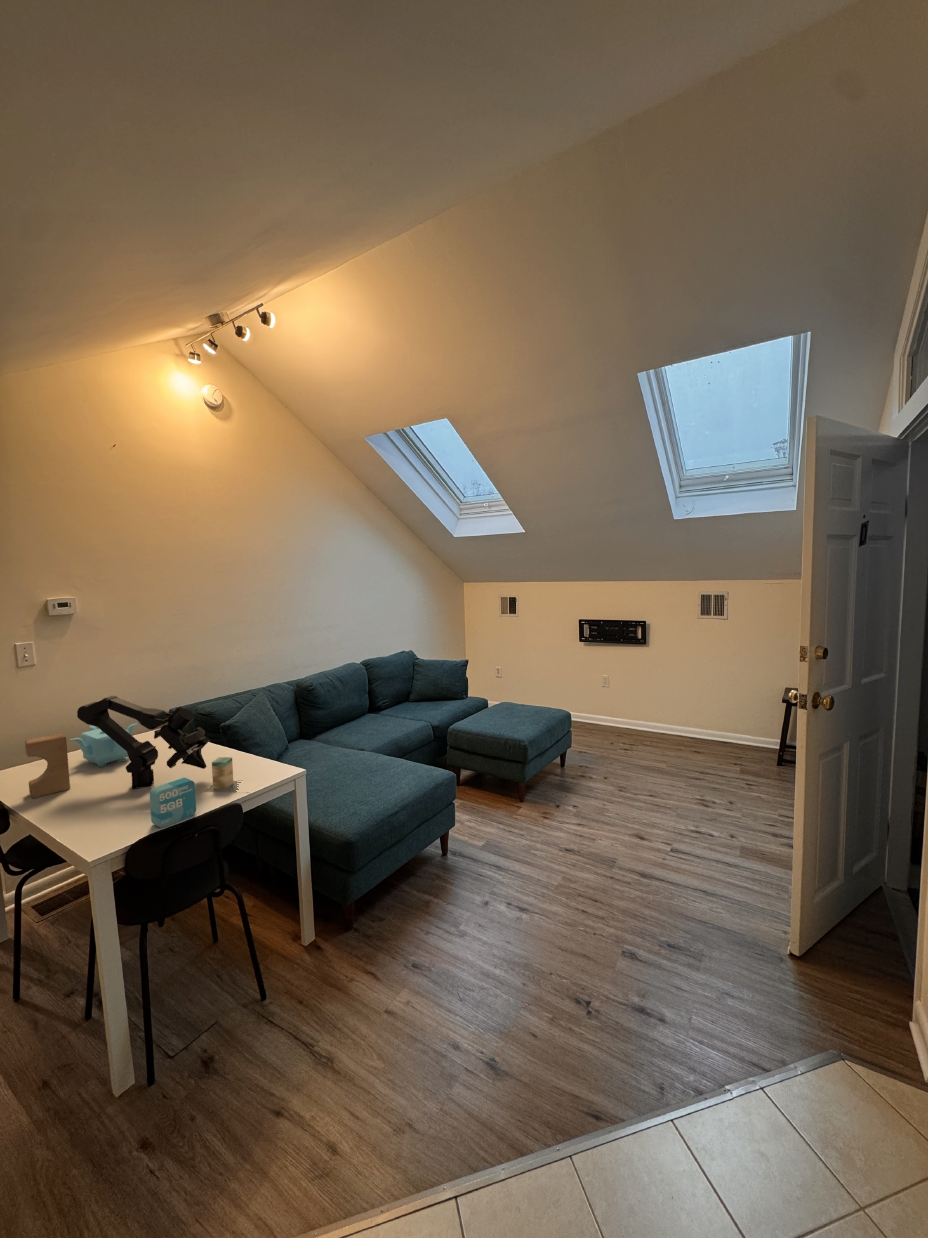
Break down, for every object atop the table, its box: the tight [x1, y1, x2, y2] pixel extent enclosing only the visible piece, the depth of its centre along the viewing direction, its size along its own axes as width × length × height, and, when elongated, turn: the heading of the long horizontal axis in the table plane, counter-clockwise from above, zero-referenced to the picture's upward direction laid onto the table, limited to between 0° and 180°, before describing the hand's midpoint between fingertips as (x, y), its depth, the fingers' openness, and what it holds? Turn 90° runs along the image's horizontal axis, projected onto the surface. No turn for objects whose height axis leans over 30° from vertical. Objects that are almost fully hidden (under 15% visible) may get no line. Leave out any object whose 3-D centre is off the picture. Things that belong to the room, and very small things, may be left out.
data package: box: [149, 777, 197, 828], centre depth 164 cm, size 12×4×12 cm, turn 146°
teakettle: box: [69, 722, 139, 768], centre depth 213 cm, size 19×19×15 cm
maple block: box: [211, 756, 234, 789], centre depth 188 cm, size 5×5×10 cm
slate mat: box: [203, 779, 241, 794], centre depth 188 cm, size 17×10×1 cm, turn 86°
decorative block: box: [24, 732, 71, 799], centre depth 184 cm, size 11×6×20 cm, turn 134°
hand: (205, 767), depth 188 cm, fingers closed
